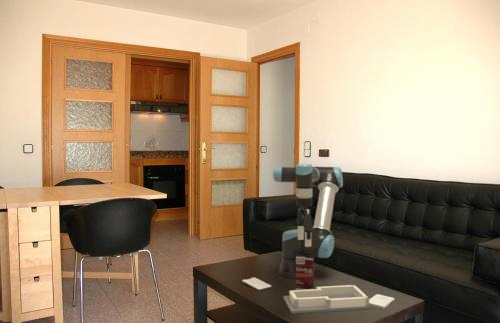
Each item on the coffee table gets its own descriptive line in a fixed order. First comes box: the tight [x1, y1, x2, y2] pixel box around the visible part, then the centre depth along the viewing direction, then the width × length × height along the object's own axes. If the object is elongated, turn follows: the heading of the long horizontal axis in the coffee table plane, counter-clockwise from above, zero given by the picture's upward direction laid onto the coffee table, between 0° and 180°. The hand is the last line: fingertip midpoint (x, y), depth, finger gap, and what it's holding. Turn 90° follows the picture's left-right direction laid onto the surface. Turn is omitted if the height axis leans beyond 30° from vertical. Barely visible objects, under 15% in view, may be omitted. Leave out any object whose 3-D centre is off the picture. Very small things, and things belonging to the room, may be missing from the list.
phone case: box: [240, 277, 273, 292], centre depth 196 cm, size 9×2×16 cm
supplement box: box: [294, 256, 315, 290], centre depth 186 cm, size 9×5×16 cm, turn 80°
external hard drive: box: [369, 293, 395, 310], centre depth 173 cm, size 2×8×12 cm
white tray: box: [282, 284, 370, 314], centre depth 172 cm, size 17×33×4 cm, turn 97°
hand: (304, 242), depth 185 cm, fingers open, 13 cm apart
